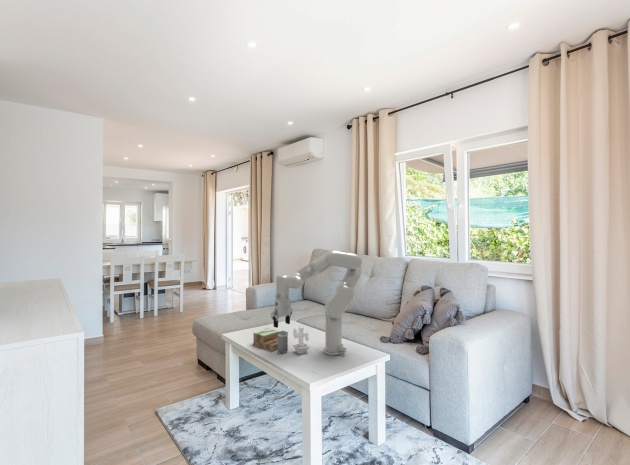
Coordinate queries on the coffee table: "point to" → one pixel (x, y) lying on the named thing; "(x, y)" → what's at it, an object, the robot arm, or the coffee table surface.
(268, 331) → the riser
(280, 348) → the column
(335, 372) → the coffee table surface
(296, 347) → the figurine
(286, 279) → the robot arm
